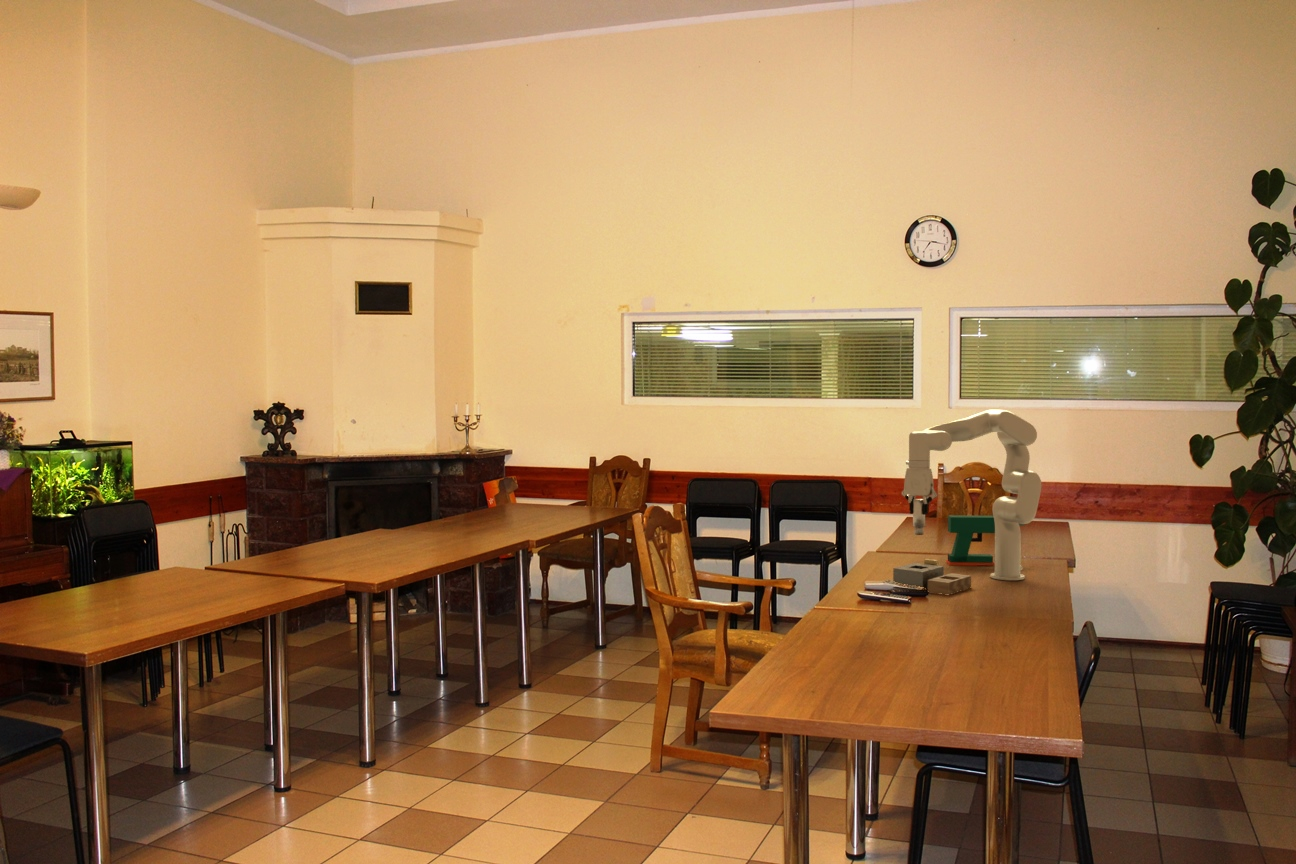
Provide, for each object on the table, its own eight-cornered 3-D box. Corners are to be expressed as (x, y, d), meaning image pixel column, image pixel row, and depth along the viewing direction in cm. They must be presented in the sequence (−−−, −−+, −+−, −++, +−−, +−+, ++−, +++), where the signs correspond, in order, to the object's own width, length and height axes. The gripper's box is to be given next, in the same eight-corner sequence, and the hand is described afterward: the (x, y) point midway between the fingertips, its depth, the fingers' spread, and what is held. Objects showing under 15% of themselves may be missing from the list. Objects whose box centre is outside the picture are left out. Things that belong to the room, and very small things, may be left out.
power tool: (1023, 563, 445) (1024, 515, 444) (1028, 566, 438) (1028, 517, 437) (945, 562, 448) (946, 515, 447) (949, 565, 441) (949, 517, 440)
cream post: (916, 533, 398) (916, 498, 397) (927, 534, 395) (927, 499, 394) (910, 534, 395) (910, 499, 394) (921, 535, 392) (921, 500, 391)
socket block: (914, 580, 406) (914, 562, 405) (943, 584, 398) (943, 566, 397) (893, 586, 394) (893, 568, 394) (922, 591, 386) (922, 571, 385)
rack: (950, 585, 397) (950, 573, 396) (971, 588, 391) (971, 575, 391) (927, 592, 383) (927, 580, 383) (948, 595, 378) (948, 582, 378)
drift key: (926, 577, 405) (926, 558, 405) (938, 578, 402) (938, 560, 402) (916, 579, 400) (916, 561, 399) (928, 581, 396) (928, 562, 396)
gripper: (893, 464, 397) (893, 513, 397) (935, 466, 385) (935, 516, 386) (903, 463, 402) (903, 511, 403) (945, 465, 391) (944, 514, 392)
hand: (919, 513), depth 394 cm, fingers closed on cream post, 4 cm apart
